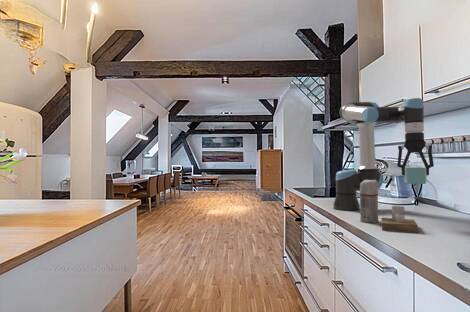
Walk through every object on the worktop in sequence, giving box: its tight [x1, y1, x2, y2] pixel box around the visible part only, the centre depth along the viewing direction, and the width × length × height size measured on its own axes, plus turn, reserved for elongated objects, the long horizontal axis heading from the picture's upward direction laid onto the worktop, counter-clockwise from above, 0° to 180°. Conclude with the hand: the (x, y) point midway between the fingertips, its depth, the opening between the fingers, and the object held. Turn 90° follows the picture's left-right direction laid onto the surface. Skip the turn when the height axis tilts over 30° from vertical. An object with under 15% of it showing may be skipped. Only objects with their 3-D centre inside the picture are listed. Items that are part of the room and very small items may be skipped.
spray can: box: [359, 180, 379, 224], centre depth 150 cm, size 8×8×20 cm
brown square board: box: [380, 204, 419, 234], centre depth 135 cm, size 13×13×10 cm
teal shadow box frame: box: [405, 167, 426, 185], centre depth 143 cm, size 7×7×7 cm
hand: (415, 182), depth 143 cm, fingers closed on teal shadow box frame, 7 cm apart
